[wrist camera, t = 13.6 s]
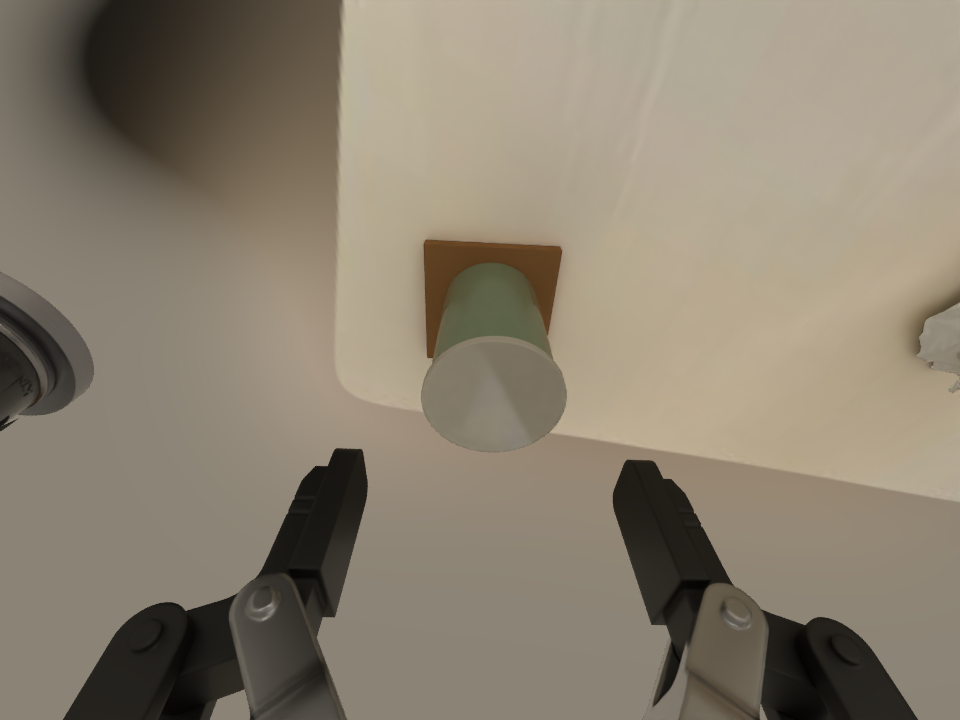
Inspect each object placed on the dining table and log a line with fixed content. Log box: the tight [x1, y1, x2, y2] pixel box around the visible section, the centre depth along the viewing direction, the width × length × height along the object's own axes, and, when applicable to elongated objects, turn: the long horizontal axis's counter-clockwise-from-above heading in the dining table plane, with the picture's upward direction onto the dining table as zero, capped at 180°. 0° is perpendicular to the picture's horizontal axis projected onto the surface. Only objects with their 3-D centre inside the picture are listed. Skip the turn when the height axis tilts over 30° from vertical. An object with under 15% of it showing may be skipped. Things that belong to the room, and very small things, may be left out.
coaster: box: [424, 240, 562, 358], centre depth 22 cm, size 7×7×1 cm
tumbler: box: [421, 263, 567, 452], centre depth 19 cm, size 6×6×8 cm
